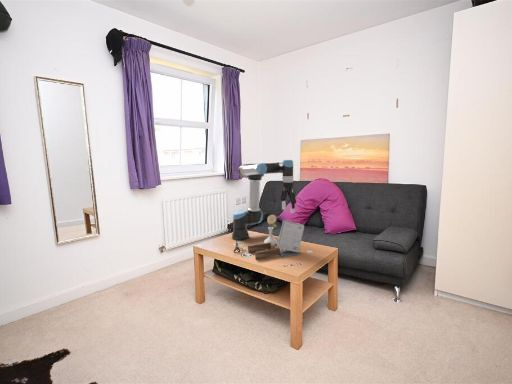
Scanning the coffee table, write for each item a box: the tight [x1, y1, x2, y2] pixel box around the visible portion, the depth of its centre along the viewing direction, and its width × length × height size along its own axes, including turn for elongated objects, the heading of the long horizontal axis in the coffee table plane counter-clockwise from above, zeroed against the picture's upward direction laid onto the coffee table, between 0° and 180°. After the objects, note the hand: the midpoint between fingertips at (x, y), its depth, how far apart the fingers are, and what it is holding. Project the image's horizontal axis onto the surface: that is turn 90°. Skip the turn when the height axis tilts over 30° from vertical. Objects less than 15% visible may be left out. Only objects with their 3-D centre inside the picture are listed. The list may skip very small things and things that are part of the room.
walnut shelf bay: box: [247, 242, 281, 261], centre depth 198 cm, size 16×18×5 cm
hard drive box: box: [276, 219, 305, 253], centre depth 199 cm, size 16×8×20 cm, turn 89°
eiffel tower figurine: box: [233, 236, 247, 254], centre depth 204 cm, size 15×10×13 cm
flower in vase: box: [263, 214, 278, 246], centre depth 217 cm, size 13×11×25 cm
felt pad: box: [280, 249, 302, 258], centre depth 199 cm, size 12×14×1 cm
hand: (288, 211), depth 195 cm, fingers open, 13 cm apart
